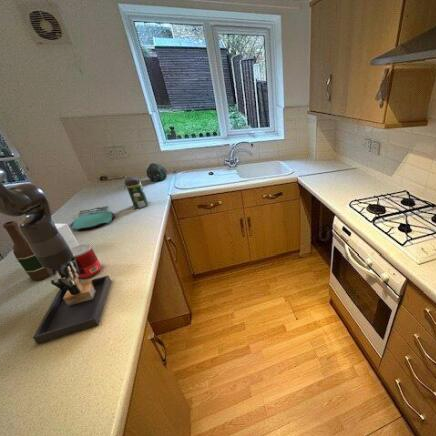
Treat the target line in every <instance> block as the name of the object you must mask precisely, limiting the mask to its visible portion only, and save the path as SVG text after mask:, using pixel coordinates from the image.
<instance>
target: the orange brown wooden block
mask: <svg viewBox="0 0 436 436" xmlns="http://www.w3.org/2000/svg"><path fill="white" fill-rule="evenodd" d="M92 280H93V279H89V280H85V281H82V282H81V281H80V282H81V284H82V286H86V285H90V284H92V286H93V287H94V284H93V282H92Z"/></svg>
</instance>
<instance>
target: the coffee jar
mask: <svg viewBox="0 0 436 436" xmlns="http://www.w3.org/2000/svg"><path fill="white" fill-rule="evenodd" d="M124 184H125V185H124V186H125V187H126V190H127V192H128V194H129V197H130V199H131V202H132V205H133V207H134V208H135V209H141V208H145V207H147V206H148V204H149V202H148V199H147V197H146V194H145V191H144V188H143V184H142V182H141V180H140V177H138V176H136V175H133V176H128V177H126V178H125V180H124Z"/></svg>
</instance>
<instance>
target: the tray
mask: <svg viewBox="0 0 436 436" xmlns="http://www.w3.org/2000/svg"><path fill="white" fill-rule="evenodd" d="M91 280H92V282H93V284H94V289H95V291H96V292H95V295H94V298H93V299H91V300H88V301H84V302H81V303H77V304H74V305H70V306H68V305H67V304H66V302H65V301H64V299H63V298H64V296H65V294H66V292H67V290H68V289H63V290H61V289H59V288H58V289H59V290H58V291H57V293H56V295H55V296H54V298H53V300H52V302H51V303H50V306H49V307H48V309H47V311H46V313H45V315H44V317H43V318H42V320H41V322H40V324H39V326H38V327H37V329H36V331H35V332H34V335H33V336H32V340H34V341H35V343H36V344H37V345H42V344H44V343H47V342H51V341H54V340H57V339H60V338H63V337H67V336H70V335H73V334H76V333H79V332H82V331H85V330H88V329H92V328H94V327H97V326H99V324H100V322H101V318H102V314H103V311H104V307H105V304H106V302H107V298H108V294H109V290H110V287H111V284H112V279H111V278H110V275H104V276H100V277H97V278H92V279H91Z"/></svg>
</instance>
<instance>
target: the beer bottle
mask: <svg viewBox="0 0 436 436" xmlns="http://www.w3.org/2000/svg"><path fill="white" fill-rule="evenodd" d="M18 226H19V224H18V222H17V221H16V220H11V221H6V222H5V223H3V224H2V227H3V229H5V230H6V232H7V233H8V235H9V236H10V239H11V240H12V243H13V245H12V251H13V255H14V257H15V259H16V260H17V262H18V263H19V265H20V266H21V267H22V268H23V270H24V271H25V272H26V274H27V275H28V277H29V278H30V279H31V280H32V281H42V280H45V279H47V278H49V277H52V276H53V273H52V270H51V269H49V268H44V267H43V266H42V265H41V264H40V262H39V261H38V259H37V258H36V256H35V255H34V253H33V252H32V250H31V248H30V246H29V244H28V242H27V240H26V239H25V237H24V236H23V234H22V233H21V232H20V230H19V227H18Z"/></svg>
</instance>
